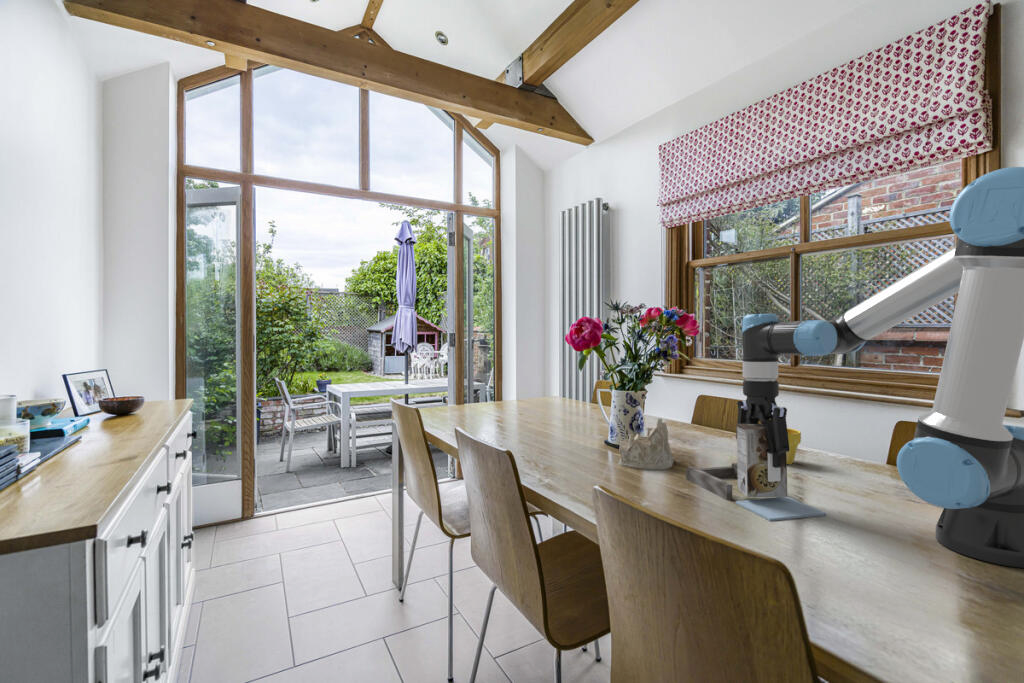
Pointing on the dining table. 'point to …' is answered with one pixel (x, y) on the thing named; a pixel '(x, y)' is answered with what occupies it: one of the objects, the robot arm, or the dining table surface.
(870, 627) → the dining table surface
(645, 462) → the ceramic cottage
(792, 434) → the plant pot
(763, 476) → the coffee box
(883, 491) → the dining table surface
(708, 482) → the tray
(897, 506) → the dining table surface
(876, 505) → the dining table surface
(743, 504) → the mat
